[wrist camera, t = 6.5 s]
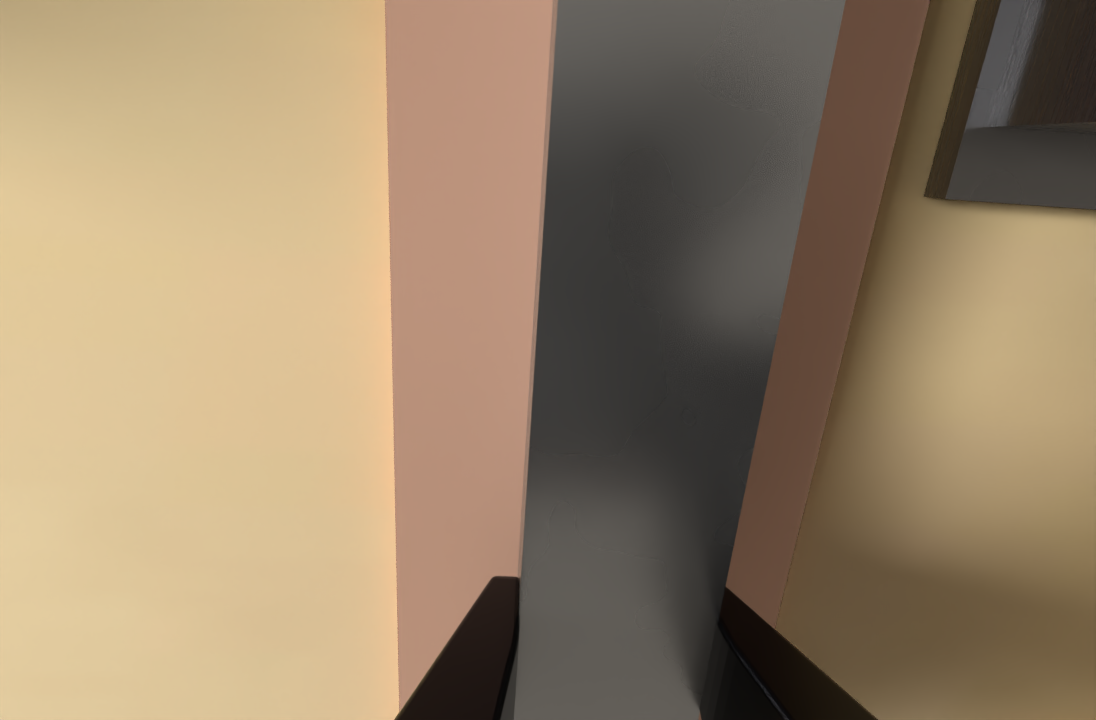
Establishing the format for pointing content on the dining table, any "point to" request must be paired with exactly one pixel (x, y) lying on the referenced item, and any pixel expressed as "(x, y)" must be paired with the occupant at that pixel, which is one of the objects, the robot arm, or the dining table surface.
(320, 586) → the dining table surface
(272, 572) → the dining table surface
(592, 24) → the rail
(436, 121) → the mat
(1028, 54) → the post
